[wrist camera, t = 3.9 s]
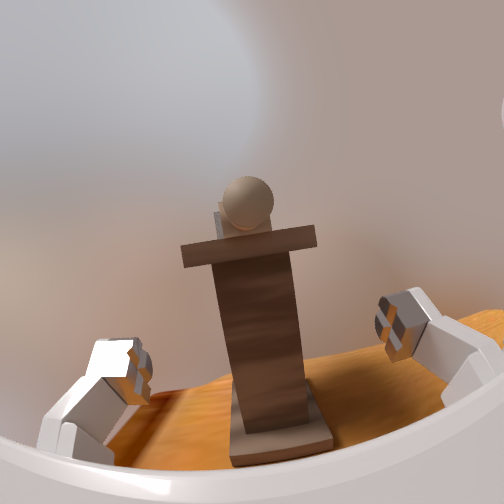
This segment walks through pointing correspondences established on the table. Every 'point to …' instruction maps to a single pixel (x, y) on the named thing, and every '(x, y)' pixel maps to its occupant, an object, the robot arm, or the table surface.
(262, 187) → the ash rail
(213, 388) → the table surface
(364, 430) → the table surface
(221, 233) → the cup bracket
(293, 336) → the walnut stand
